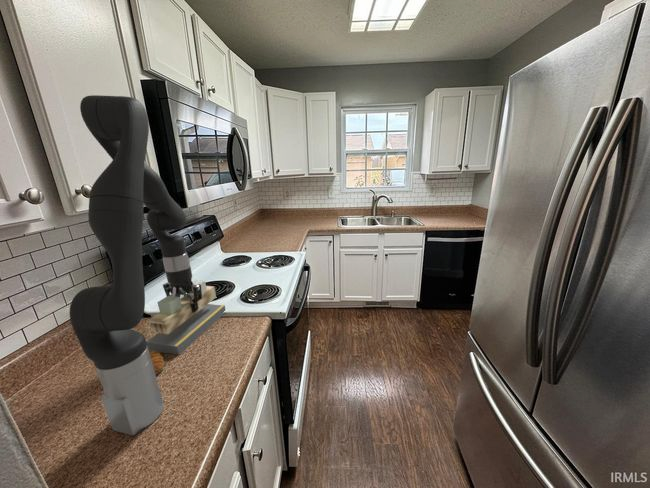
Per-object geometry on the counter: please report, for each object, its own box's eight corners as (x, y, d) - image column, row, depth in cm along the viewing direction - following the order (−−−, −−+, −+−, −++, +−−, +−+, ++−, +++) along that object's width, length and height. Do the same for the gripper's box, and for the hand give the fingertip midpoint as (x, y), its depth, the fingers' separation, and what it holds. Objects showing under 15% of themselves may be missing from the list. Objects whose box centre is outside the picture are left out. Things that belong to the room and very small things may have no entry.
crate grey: (198, 296, 94) (196, 286, 93) (188, 295, 96) (186, 285, 94) (206, 290, 99) (205, 280, 97) (196, 289, 100) (194, 280, 99)
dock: (179, 354, 81) (176, 346, 81) (148, 349, 84) (145, 341, 83) (226, 312, 105) (224, 305, 104) (200, 309, 108) (199, 302, 107)
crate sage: (171, 314, 83) (169, 303, 82) (160, 313, 84) (157, 302, 83) (182, 307, 87) (179, 296, 86) (171, 306, 88) (168, 295, 87)
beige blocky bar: (167, 334, 81) (164, 321, 79) (152, 332, 82) (148, 319, 81) (216, 297, 103) (214, 286, 102) (203, 296, 104) (201, 285, 103)
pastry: (171, 368, 76) (168, 357, 75) (145, 383, 71) (141, 372, 70) (158, 355, 82) (155, 345, 81) (133, 368, 77) (130, 357, 76)
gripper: (150, 269, 86) (162, 314, 91) (187, 272, 82) (197, 318, 87) (168, 261, 93) (178, 303, 98) (203, 263, 89) (211, 307, 94)
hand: (187, 310), depth 92 cm, fingers closed on beige blocky bar, 6 cm apart
